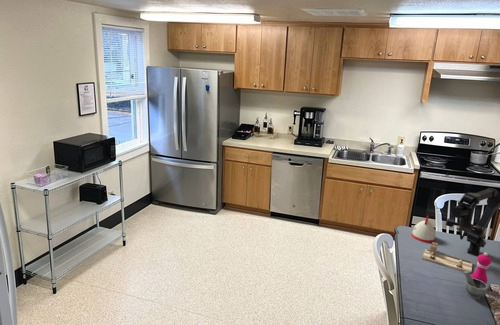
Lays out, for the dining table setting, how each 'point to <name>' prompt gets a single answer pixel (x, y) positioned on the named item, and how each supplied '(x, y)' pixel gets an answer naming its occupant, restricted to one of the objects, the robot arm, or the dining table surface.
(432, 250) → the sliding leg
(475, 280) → the mortar and pestle
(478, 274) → the pepper mill
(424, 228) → the white dome
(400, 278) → the dining table surface
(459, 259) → the gauge board
